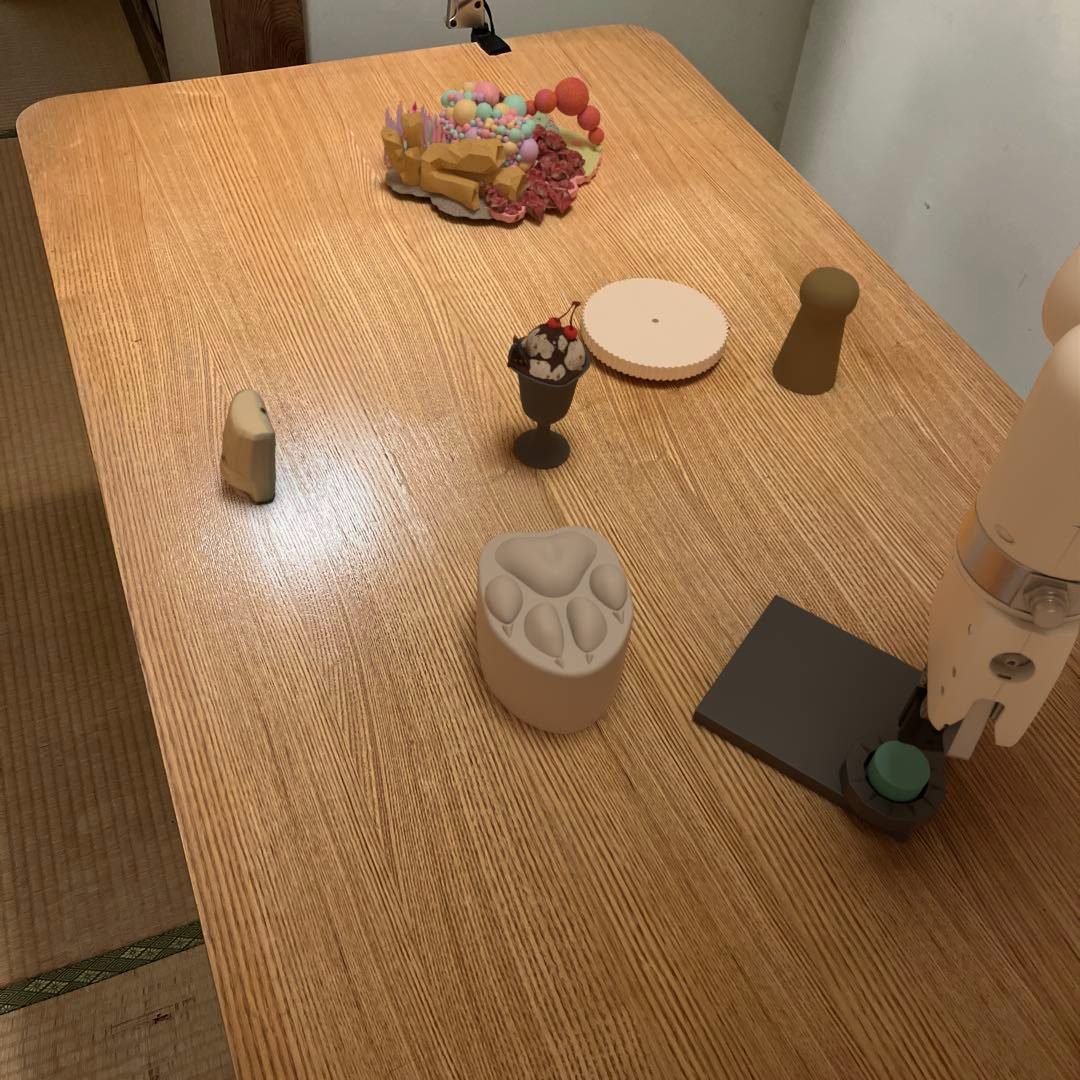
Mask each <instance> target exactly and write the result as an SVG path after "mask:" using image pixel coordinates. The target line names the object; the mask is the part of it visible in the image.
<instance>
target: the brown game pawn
mask: <svg viewBox="0 0 1080 1080" xmlns="http://www.w3.org/2000/svg"><path fill="white" fill-rule="evenodd" d="M798 295H799V303H800V307H799V309H798V311H797V313H796V315H795V318H794V320H793V322H792V324H791V326H790V328H789V331H788V333H787V335H786V337H785V339H784V341H783V343H782V346H781V348H780V349H779V352H778V354H777V356H776V359H775V361H774V363H773V365H772V375H773V378H774V379H775V381H777V383H779V384H780V385H781V386H782V387H783V388H785V389H787V390H789V391H792V392H793V393H797V394H799V395H808V396H815V395H821V394H824V393H826V392H829V391H830V390H831V389H832V388H834V386H835V383H836V380H837V374H838V368H839V363H840V357H841V351H842V346H843V339H844V333H845V327H846V321H847V317H848V316H849V315H850V314H852V313H853V311H854V310H855V309H856V307H857V304H858V302H859V298H860V287H859V283H858V281H857V279H856V278H855V277H854V276H853V275H852V274H851V273H850V272H847V271H846V270H844V269H841V268H838V267H833V266H822V267H821V266H820V267H817V268H814V269H812V270H811V271H810V272H809V273H808V274H806V275H805V276H804V278H803V280H802V282H801V284H800V287H799V290H798Z"/></svg>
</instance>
